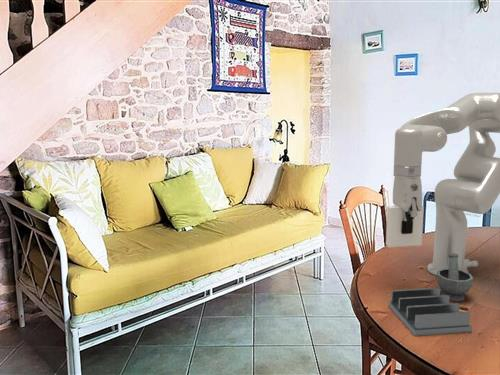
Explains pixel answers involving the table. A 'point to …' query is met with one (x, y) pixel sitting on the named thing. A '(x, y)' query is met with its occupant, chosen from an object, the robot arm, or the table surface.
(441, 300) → the rack
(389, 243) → the white flat block
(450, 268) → the mortar and pestle
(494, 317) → the table surface
